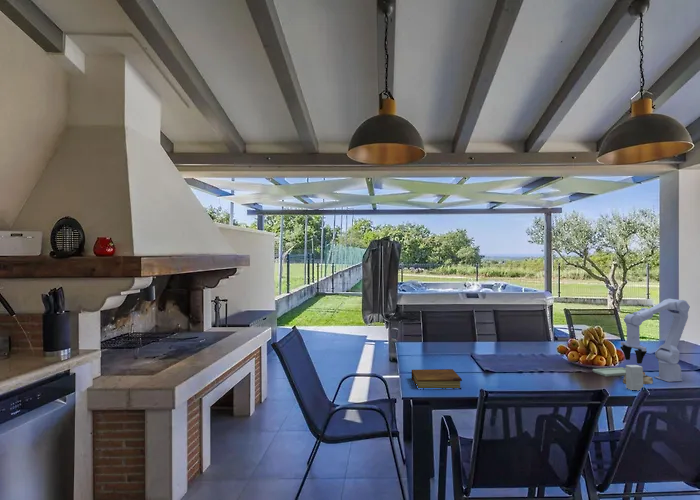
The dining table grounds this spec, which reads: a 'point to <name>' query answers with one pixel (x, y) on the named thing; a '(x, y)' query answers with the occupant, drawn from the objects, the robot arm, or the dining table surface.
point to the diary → (436, 378)
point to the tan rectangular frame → (645, 380)
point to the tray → (611, 371)
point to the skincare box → (634, 377)
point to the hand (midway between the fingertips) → (633, 361)
